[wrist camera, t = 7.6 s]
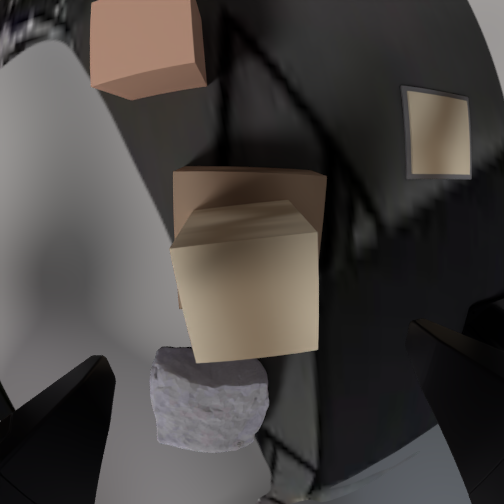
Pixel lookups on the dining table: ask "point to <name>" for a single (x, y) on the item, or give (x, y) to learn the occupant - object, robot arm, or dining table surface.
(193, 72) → the terracotta block
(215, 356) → the oak block
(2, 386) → the dining table surface
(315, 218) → the walnut base block
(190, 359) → the stone block
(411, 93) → the tile
